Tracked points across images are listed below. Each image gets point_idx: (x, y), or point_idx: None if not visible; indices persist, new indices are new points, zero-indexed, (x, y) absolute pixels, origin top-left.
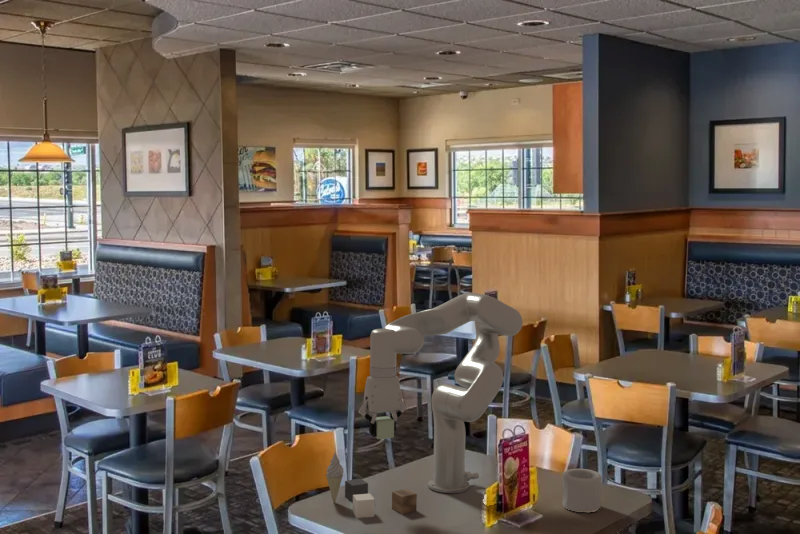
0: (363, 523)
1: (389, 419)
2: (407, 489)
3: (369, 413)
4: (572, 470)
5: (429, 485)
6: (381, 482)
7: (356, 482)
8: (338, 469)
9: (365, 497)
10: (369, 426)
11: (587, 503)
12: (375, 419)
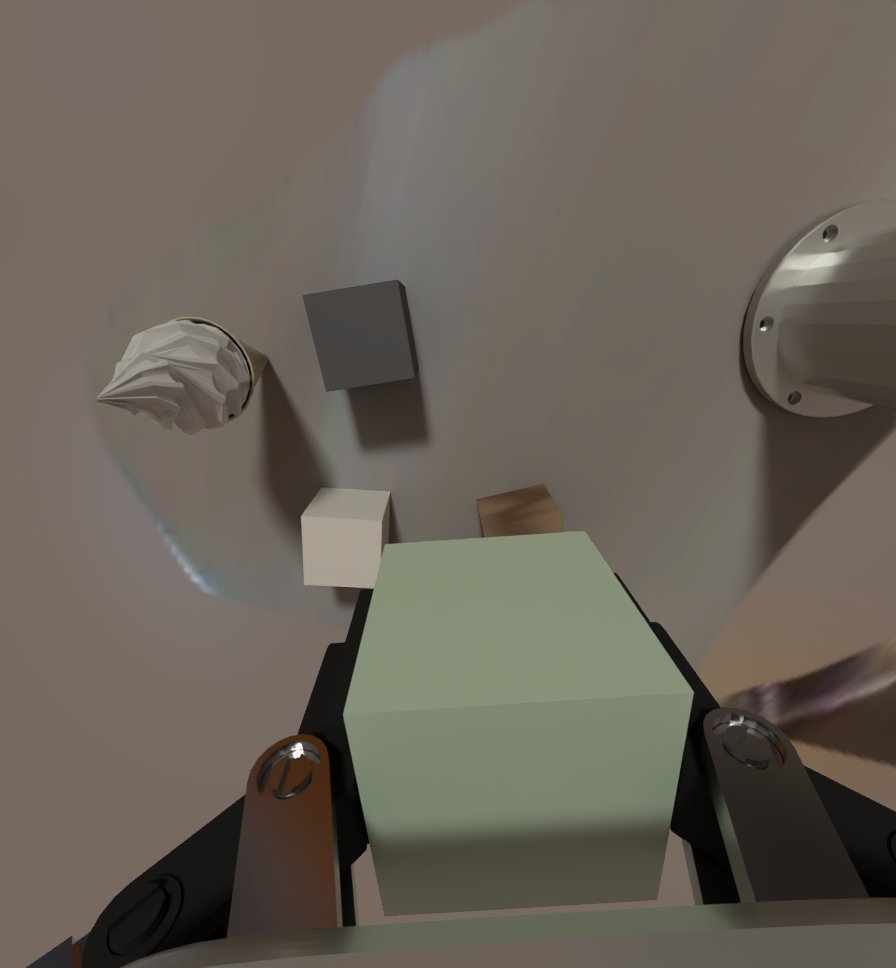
0: (334, 596)
1: (611, 861)
2: (561, 519)
3: (236, 926)
4: None
5: (755, 312)
6: (577, 109)
7: (358, 344)
8: (195, 429)
9: (348, 560)
10: (312, 706)
11: None
12: (355, 909)
